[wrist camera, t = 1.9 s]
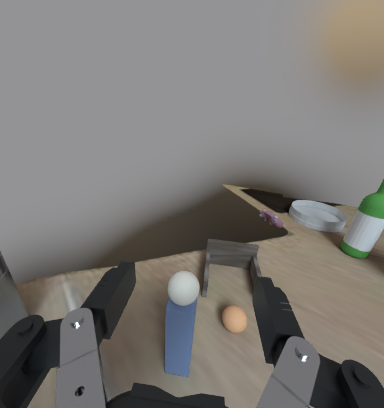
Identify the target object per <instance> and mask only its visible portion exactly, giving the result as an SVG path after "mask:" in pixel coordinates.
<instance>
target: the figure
mask: <svg viewBox="0 0 384 408" xmlns="http://www.w3.org/2000/svg"><path fill="white" fill-rule="evenodd" d="M167 289H168V295H169V299H168V302H167V306H166V317H165V373H170V374H175V375H180V376H185V377H188V374H189V366H190V358H191V349H192V340H193V331H194V322H195V313H196V305H197V297H198V294H199V290H200V286H199V282H198V279H197V278H196V276H195V275H194V274H192V273H191V272H188V271H179V272H177V273H175V274H174V275H173V276H172V277H171V278H170V280H169V282H168V288H167Z"/></svg>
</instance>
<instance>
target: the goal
mask: <svg viewBox="0 0 384 408" xmlns="http://www.w3.org/2000/svg"><path fill="white" fill-rule="evenodd" d="M258 248H259V247H258V245H253V244H246V243H238V242H230V241H222V240H215V239H208V244H207V251H206V260H205V270H204V280H203V291H202V297H206V294H207V287H208V277H209V263H211V264H218V265H225V266H232V267H239V268H246V269H249V270H250V275H251V280H252V285H253V290H254V287H255V283H256V279H257V277H258V276H260V277H262V275H261V271H260V268H259V264H258V260H257V252H258Z"/></svg>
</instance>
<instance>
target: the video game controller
mask: <svg viewBox="0 0 384 408" xmlns="http://www.w3.org/2000/svg"><path fill="white" fill-rule="evenodd" d="M259 215H260V217H261V218H262V219H263V221H264V222H267V221H268V219H269V220H270V221H269V224H270V225H271V226H273V225H276V226H277V227H279V228H280V227H282V226H283V223H282V222H281V221H280V219H279V218H278V217H277V216H275V215H274V214H273V213H272V212H270V211H266V210H265V209H264V210H261V211H260V212H259Z"/></svg>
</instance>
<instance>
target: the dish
mask: <svg viewBox="0 0 384 408" xmlns="http://www.w3.org/2000/svg"><path fill="white" fill-rule="evenodd" d="M289 215H290V217H291V218H292V219H293V220H295V221H296V222H298V223H299V224H302V225H304V226H306V227H309V228H311V229H315V230H319V231H324V232H339V231H341V230H343V228H344V226H345V222H346V220H347V216H346V215H345V214H344V213H343V212H342V211H340V210H338V209H336V208H334V207H332V206H329V205H326V204H323V203H320V202H315V201H309V200H297V201H294V202H293V203H292V205H291V207H290V210H289Z"/></svg>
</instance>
